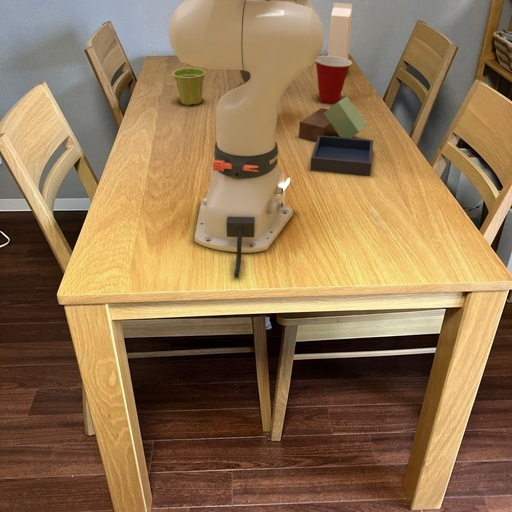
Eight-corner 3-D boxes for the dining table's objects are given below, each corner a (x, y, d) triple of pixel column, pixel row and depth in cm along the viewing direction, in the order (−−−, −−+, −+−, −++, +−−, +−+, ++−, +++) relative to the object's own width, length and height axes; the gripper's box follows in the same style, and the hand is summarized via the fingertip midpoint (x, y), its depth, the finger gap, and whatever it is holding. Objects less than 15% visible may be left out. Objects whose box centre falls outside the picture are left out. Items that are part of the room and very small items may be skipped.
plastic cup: (355, 103, 163) (359, 62, 156) (322, 108, 160) (325, 66, 153) (337, 92, 171) (341, 52, 164) (305, 96, 168) (308, 55, 161)
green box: (321, 137, 142) (324, 99, 137) (330, 130, 146) (334, 93, 140) (357, 146, 138) (361, 107, 132) (365, 139, 141) (370, 100, 136)
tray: (369, 176, 124) (371, 163, 123) (310, 170, 127) (311, 157, 125) (371, 151, 135) (373, 139, 133) (317, 146, 137) (318, 135, 136)
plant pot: (168, 104, 162) (165, 74, 157) (186, 94, 168) (184, 65, 163) (195, 109, 158) (193, 79, 153) (212, 99, 165) (211, 70, 160)
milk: (329, 70, 190) (334, 0, 178) (346, 72, 189) (353, 1, 176) (326, 75, 185) (331, 4, 173) (344, 77, 184) (350, 5, 171)
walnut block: (298, 137, 142) (299, 121, 140) (320, 122, 150) (321, 107, 148) (322, 143, 139) (324, 127, 137) (343, 128, 147) (345, 113, 145)
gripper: (261, -4, 124) (291, 52, 126) (307, -15, 138) (333, 36, 140) (243, 11, 129) (272, 66, 131) (289, -1, 143) (314, 49, 145)
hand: (304, 50), depth 136 cm, fingers open, 8 cm apart
